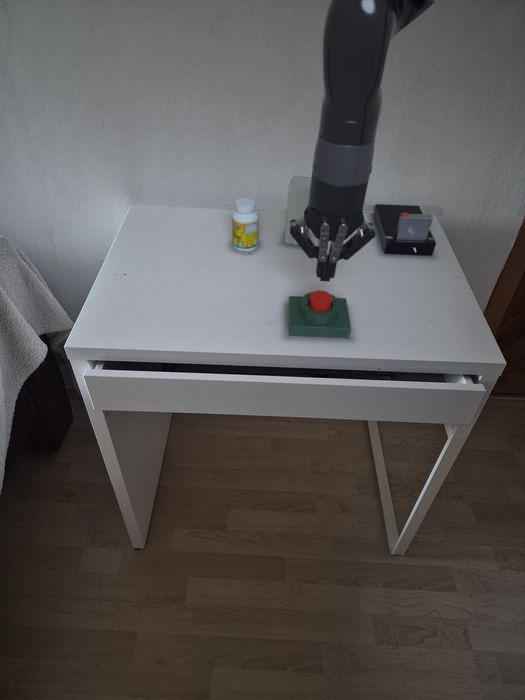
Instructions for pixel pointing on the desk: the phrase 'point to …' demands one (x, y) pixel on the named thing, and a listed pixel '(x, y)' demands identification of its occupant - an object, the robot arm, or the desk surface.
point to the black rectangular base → (387, 227)
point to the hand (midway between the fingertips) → (324, 278)
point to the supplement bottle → (245, 225)
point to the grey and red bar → (413, 227)
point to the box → (297, 203)
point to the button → (320, 301)
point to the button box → (318, 318)
